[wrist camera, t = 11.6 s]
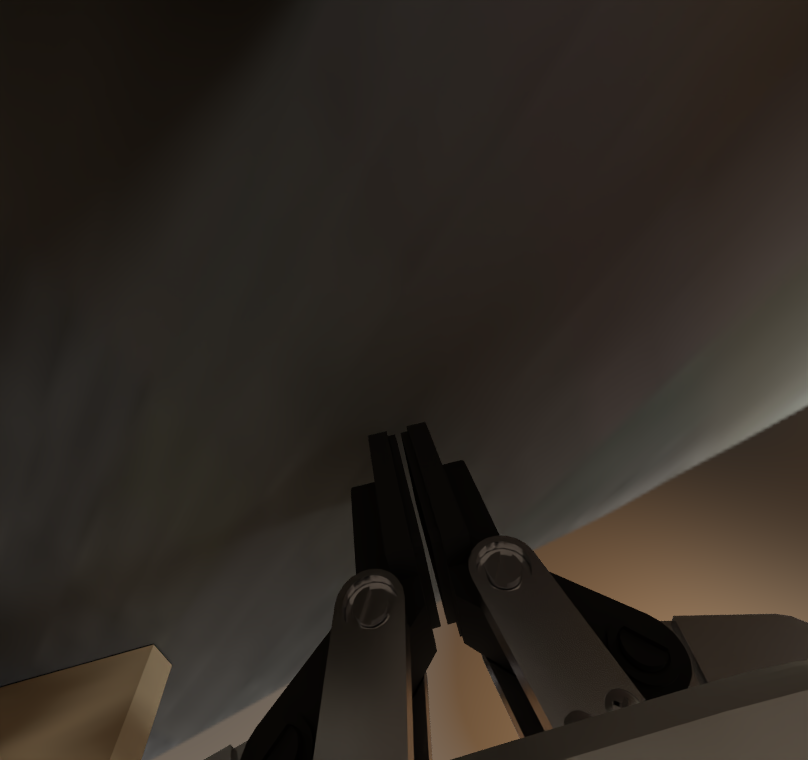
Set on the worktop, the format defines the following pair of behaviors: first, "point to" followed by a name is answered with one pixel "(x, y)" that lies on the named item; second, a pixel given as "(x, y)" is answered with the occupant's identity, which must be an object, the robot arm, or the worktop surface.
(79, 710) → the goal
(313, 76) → the worktop surface
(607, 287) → the worktop surface
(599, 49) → the worktop surface
